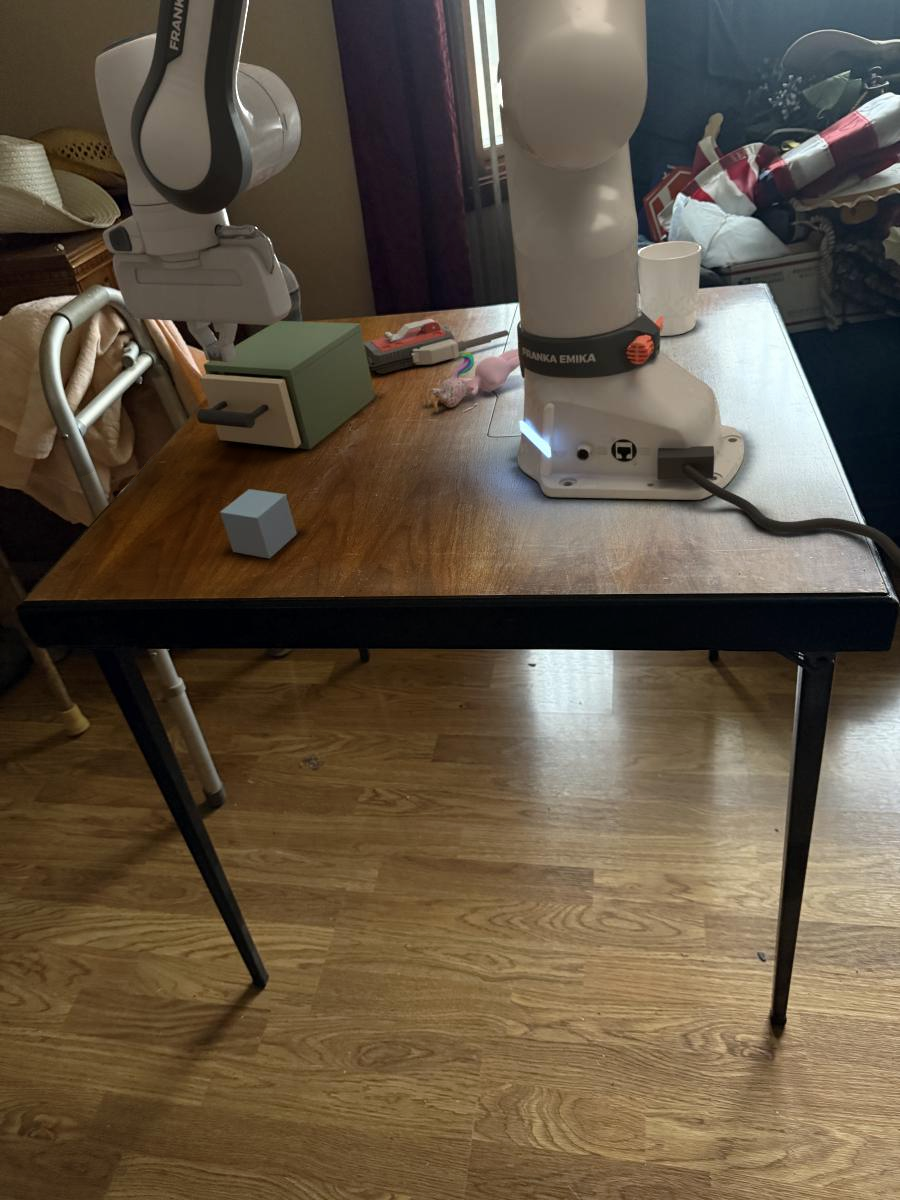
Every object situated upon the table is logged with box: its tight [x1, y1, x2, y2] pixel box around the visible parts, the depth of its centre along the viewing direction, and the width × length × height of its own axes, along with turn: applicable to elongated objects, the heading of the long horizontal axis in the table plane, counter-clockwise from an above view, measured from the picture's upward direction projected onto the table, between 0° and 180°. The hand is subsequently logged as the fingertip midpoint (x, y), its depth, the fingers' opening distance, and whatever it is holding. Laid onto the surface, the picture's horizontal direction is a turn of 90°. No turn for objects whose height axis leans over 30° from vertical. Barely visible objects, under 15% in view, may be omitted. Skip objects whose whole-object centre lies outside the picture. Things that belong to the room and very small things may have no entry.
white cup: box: [638, 240, 703, 337], centre depth 114 cm, size 8×8×10 cm
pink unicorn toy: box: [423, 348, 520, 413], centre depth 106 cm, size 6×6×15 cm
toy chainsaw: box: [364, 318, 510, 375], centre depth 120 cm, size 9×4×20 cm
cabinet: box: [203, 321, 376, 450], centre depth 106 cm, size 15×13×10 cm
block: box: [219, 488, 298, 559], centre depth 83 cm, size 4×4×4 cm
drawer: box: [196, 372, 301, 449], centre depth 103 cm, size 18×11×8 cm, turn 153°
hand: (222, 359), depth 95 cm, fingers closed
